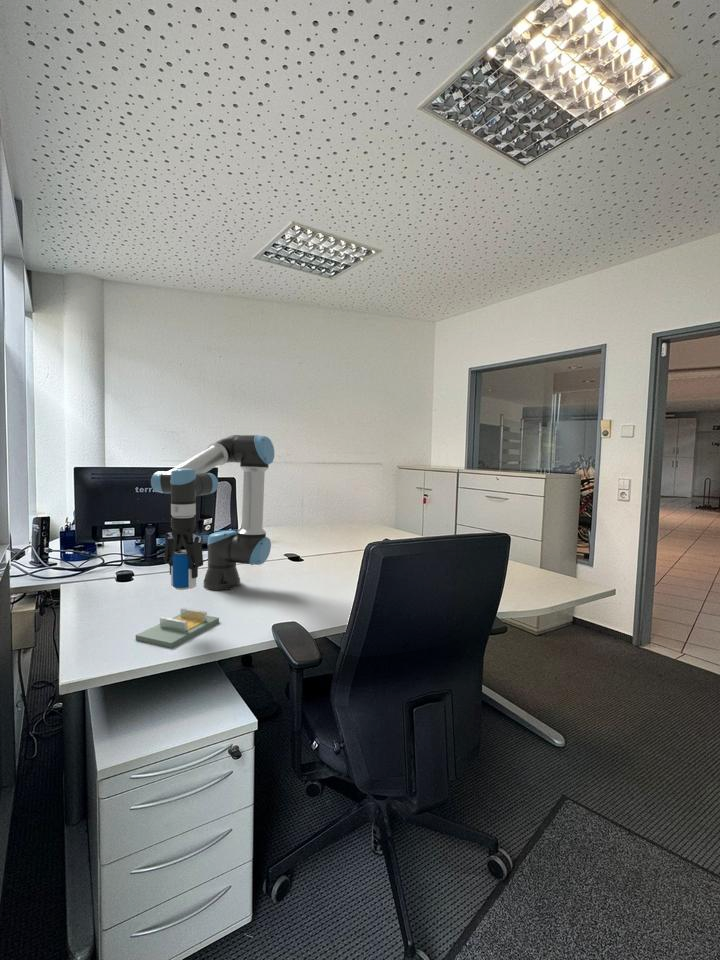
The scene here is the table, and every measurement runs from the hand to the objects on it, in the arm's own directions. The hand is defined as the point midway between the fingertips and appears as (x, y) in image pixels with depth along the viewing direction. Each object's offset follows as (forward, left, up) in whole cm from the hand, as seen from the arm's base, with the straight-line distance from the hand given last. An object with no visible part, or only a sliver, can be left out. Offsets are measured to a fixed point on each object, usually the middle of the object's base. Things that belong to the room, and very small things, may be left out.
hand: (183, 585), depth 150 cm
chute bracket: (0, 0, -13) cm, 13 cm away
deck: (0, -2, -14) cm, 14 cm away
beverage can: (0, 0, -1) cm, 1 cm away
